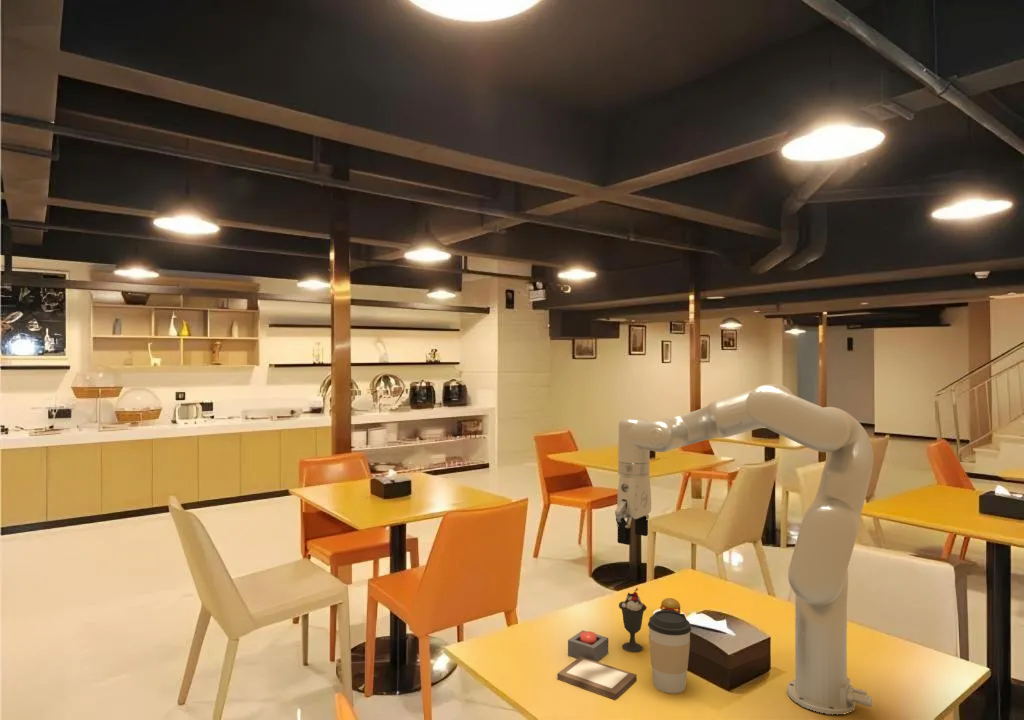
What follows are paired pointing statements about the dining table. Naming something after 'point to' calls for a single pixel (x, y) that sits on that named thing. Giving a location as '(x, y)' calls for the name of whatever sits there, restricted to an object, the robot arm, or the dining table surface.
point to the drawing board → (597, 677)
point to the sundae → (632, 619)
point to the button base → (588, 647)
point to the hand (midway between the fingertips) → (633, 539)
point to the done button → (588, 637)
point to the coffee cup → (669, 650)
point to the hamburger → (670, 605)
